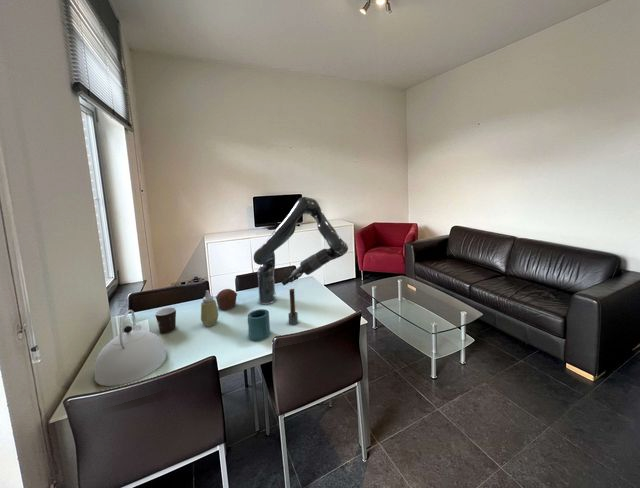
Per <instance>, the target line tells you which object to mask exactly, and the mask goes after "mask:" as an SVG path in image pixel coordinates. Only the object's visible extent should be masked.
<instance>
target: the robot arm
mask: <svg viewBox="0 0 640 488" xmlns="http://www.w3.org/2000/svg"><path fill="white" fill-rule="evenodd" d="M303 215H307V216H311V217H312V218H313V219H314V221H315V223H316V226H317V230H318V232H319V233H320V235H321V236H322V237H323V239H324V240H325V241H326V243H327V245H328V246H329V248H322V249H320V250H319V251H316V253H314V254H312V255H310V256H309V257H307V258H305V259H304V260H302V261H300V263H299V265H300V266H298V267H297V268H295V269H293V271H291V272H290V273H288V274H287V275H286V276H285V279H284V280H282V281H281V284H282V285H283V286H286V285H288V284H289V283H293V282H294V281H296V280H297V279H299V278H301V277H302V276H303V275H304V274H305V275H306V276H309V275H311V274H313V273H314V272H315V271H317V270H319V269H321V268H322V267H323V266H324V265H326V264H328V263H330V262H331V261H333V260H336V259H339V258H341V257H342V256H344V255H346V253H347V252H348V250H349V246H348V243H347V242H346V241H344V240H343V239H342V238H341V237H340V235H339V234H338V232H337V230H336V229H335V227H333V225H332V224H331V222H329V220H328V218H327V217H326V215H325V214H324V211H322V208H321V206H320V205H319V203H318V201H317V200H316V199H314V198H312V197H307V196H302V197H300V198H298V200H297V201H296V202H295V203H294V205H293V206H292V208H291V209H290V211H289V213H288V214H286V216H285V217H284V219H283V220H282V221H281V222H280V223H279V224H278V226H277V227H276V228H275V229H274V231H273V232H272V233H271V235H269V237H268V238H267V240H265V242H264V243H263V244H262V245H261V246H260V247H259V248H258V249H256V250H255V252H254V253H253V262H254V263H255V264H256V265H258V266H259V265H260V266H259V268H258V269H257V286H258V287H257V288H258V303H259V304H260V305H270V304H273V303H275V302H276V300H277V299H276V295H277V292H276V285H275V269H276V253H275V251H276V250H278V249H279V248H280V247H281V246H283V245H284V244H285V243H287V242H288V240H289V239H290V238H291V237H292V236H293V235H294V233H295V232H296V227H297V222H298V221H299V219H300V218H301V217H302V216H303Z"/></svg>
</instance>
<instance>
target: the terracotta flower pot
mask: <svg viewBox="0 0 640 488" xmlns="http://www.w3.org/2000/svg"><path fill="white" fill-rule="evenodd" d="M237 296H238V292H236V291H235V290H233V289H231V288H225V289H221V290H220V291H219V292H218V293H217V294H216V296H215V299H216V300H215V301H216V305H217V308H218V310H221V311H228V310H232V309H234V308H235V307H236V304H237Z"/></svg>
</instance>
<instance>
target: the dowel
mask: <svg viewBox="0 0 640 488" xmlns="http://www.w3.org/2000/svg"><path fill="white" fill-rule="evenodd" d="M288 291H289V310H290V312H289V313H288V324H289V325H290V326H295V325H297V324H299V313H298V312H297V311H296V301H295V300H296V297H295V296H296V295H295V289H294V288H290V289H289V290H288Z"/></svg>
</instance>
